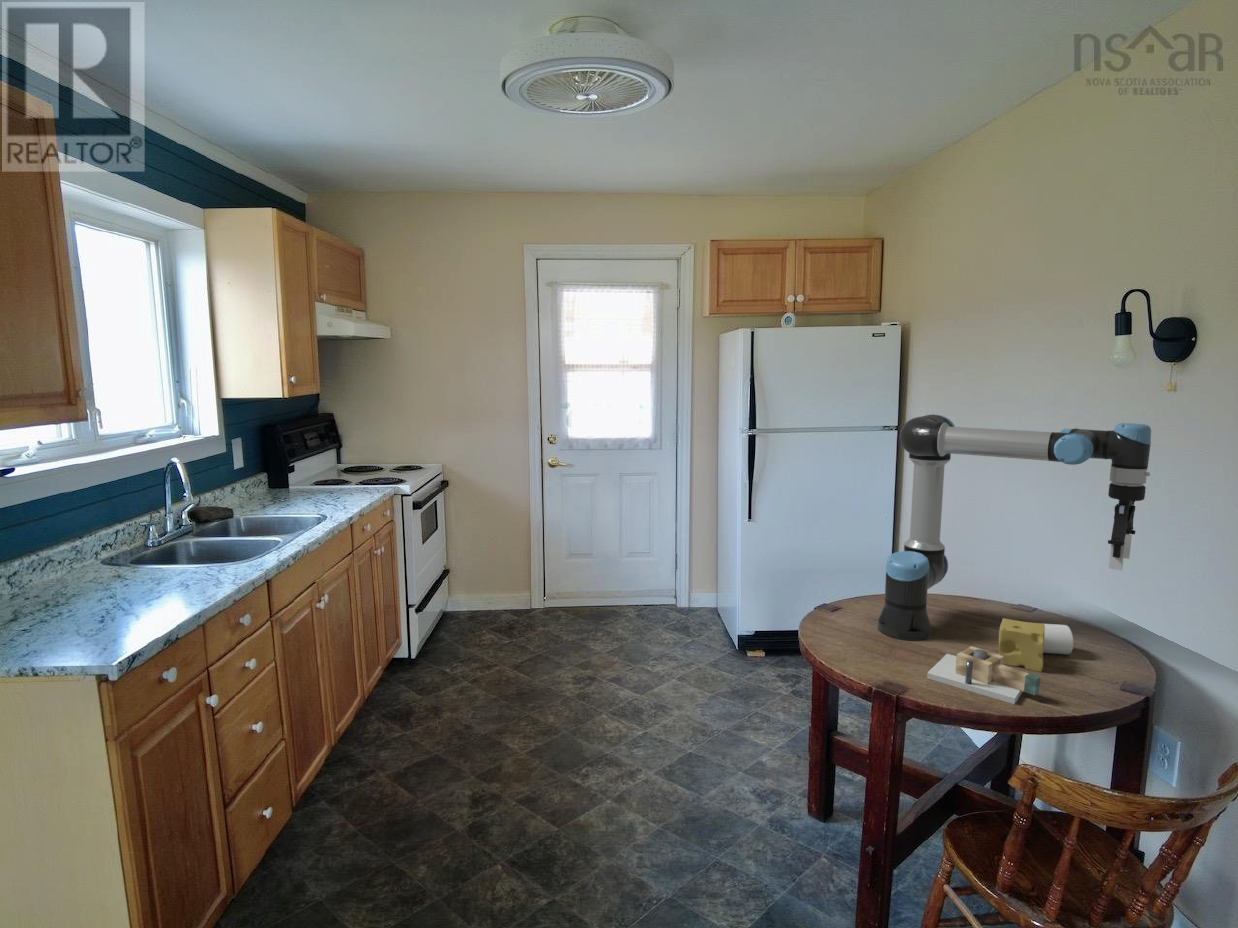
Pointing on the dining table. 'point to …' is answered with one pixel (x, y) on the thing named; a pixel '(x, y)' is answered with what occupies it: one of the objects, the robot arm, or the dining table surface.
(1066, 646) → the mug
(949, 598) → the dining table surface
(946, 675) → the base
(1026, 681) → the wooden frame with handle
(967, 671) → the dowel
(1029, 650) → the cheese
